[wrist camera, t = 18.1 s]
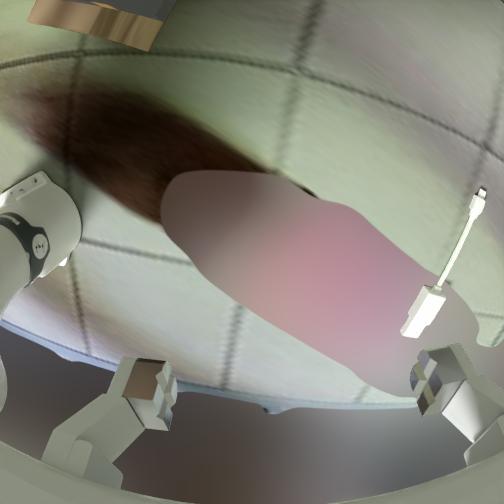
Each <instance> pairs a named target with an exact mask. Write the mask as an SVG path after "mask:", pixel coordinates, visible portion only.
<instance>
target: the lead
mask: <svg viewBox="0 0 504 504" xmlns="http://www.w3.org/2000/svg"><path fill="white" fill-rule="evenodd" d="M63 1H71V2H78V3H84V4H90V5H96V6H101V7H105V8H110V9H115V10H120V11H124V12H129V13H133V14H137V15H140V16H144V17H148V18H151V19H155V20H158V21H162V22H164V21H165V19H166V18H167V16H168V14H169V13H170V11H171V9H172V8H173V6H174V4H175V3H176V1H177V0H63Z"/></svg>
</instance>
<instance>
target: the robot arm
mask: <svg viewBox="0 0 504 504" xmlns="http://www.w3.org/2000/svg"><path fill="white" fill-rule="evenodd" d="M36 179H37V181H36ZM80 237H81V220H80V216H79V212H78V210H77V207H76V205H75V203H74V202H73V200H72V199H71V197H70V196H69V195H68V194H67V193H66V192H65V191H64V190H63V189H62V188H60V187H59V186H57V185H56V184H54V183H53V182H51V180H50V179H49V177H48V176H47V175H46V174H45V173H44V172H43V171H39V172H37V173H36V174H34V175H32V176H30V177H29V178H27V179H25V180H23V181H22V182H20V183H18V184H17V185H15V186H13V187H12V188H10V189H8V190H7V191H5V192H4V193H2V194H1V195H0V321H1V318H2V316H3V314H4V312H5V310H6V309H7V307H8V306H9V304H10V303H11V302H12V300H13V299H14V298H15V296H16V295H17V294H18V293H19V292H20V291H21V289H22V288H25V287H27V286H28V285H30V284H31V283H33V282H34V281H35V280H36V278H37V277H44V276H46V275H47V274H48V273H49V272H50V271H52V270H53V269H54V268H55V267H56V266H57V265H60V266H65V265H66V264H67V263H68V261H69V258H70V254H71V252H72V251H73V250H74V249H75V247H76V246H77V245H78V243H79V240H80ZM417 358H418V360H419V362H418V363H417V364H415V365H414V366H413V368H412V371H411V373H410V384H411V388H412V391H413V392H414V393H415V394H417V395H418V399H417V404H418V407H419V409H420V413H421V415H422V417H423V416H428V415H432V414H436V413H441V412H442V414H443V415H444V416H445V417H446V418H447V419H448V420H449V421H450V422H451V423H453V424H454V425H455V426H456V427H457V428H458V429H459V430H460V431H461V432H462V433H463V434H464V435H465V436H466V437H467V438H468V439H469V440H471V442H472V443H473V444H472V445H471V446H470V447H469V448H468V449H467V450H466V451H465V453H464V458H465V461H466V464H467V468H465V469H462V470H460V471H457V472H455V473H452V474H449V475H446V476H444V477H441V478H438V479H435V480H432V481H429V482H426V483H423V484H420V485H417V486H413V487H409V488H406V489H402V490H398V491H395V492H390V493H386V494H382V495H377V496H373V497H368V498H363V499H358V500H351V501H345V502H338V503H331V504H504V390H503V389H502V388H500V387H499V386H497V385H496V384H494V383H493V382H491V381H490V380H488V379H487V378H485V377H484V376H482V375H480V376H478V374H477V372H476V370H475V369H474V367H473V365H472V363H471V361H470V360H469V358H468V356H467V354H466V353H465V351H464V349H463V348H462V346H461V345H460V344H459V343H456V344H451V345H447V346H445V345H444V346H440V347H435V348H429V349H423V350H422V351H421V352H420V353H419V355H418V357H417ZM170 372H171V366H170V363H169V361H161V360H151V359H143V358H134V357H124V358H123V359H122V360H121V362H120V364H119V366H118V368H117V371H116V373H115V375H114V378H113V380H112V382H111V385H110V387H109V390H108V392H107V394H102V395H100V396H99V397H98V398H96V399H95V400H94V401H93V402H91V403H90V404H88V405H87V406H86V407H84V408H83V409H81V410H80V411H79V412H77V413H76V414H75V415H73V416H72V417H70V418H69V419H68V420H66V421H65V422H64V423H62V424H61V425H59V426H58V427H57V428H55V429H54V430H53V432H52V435H51V437H50V439H49V442H48V444H47V447H46V449H45V451H44V454H43V456H42V459H41V461H39V460H36V459H34V458H32V457H30V456H28V455H26V454H24V453H22V452H20V451H18V450H16V449H14V448H12V447H10V446H8V445H6V444H5V443H3V442H1V441H0V504H191V503H184V502H177V501H171V500H165V499H160V498H155V497H150V496H145V495H140V494H136V493H132V492H127V491H124V490H120V487H121V483H122V479H123V475H122V473H121V472H120V471H119V470H118V469H117V468H116V467H115V466H114V465H113V464H112V462H113V461H114V460H115V459H116V458H117V457H118V456H119V455H120V454H121V453H122V452H123V451H124V450H125V449H126V448H127V447H128V446H129V445H130V444H131V443H132V442H133V441H134V440H135V439H136V438H137V437H138V436H139V435H140V434H141V433H142V432H143V431H144V430H145V428H149V429H158V430H167V431H169V427H170V423H171V419H172V415H173V414H172V412H171V410H170V407H171V406H173V405H174V404H175V402H176V397H177V383H176V380H175V377H174V376H173V375H171V374H170ZM6 394H7V380H6V373H5V369H4V366H3V363H2V361H1V357H0V411H1V409H2V407H3V406H4V403H5V399H6Z"/></svg>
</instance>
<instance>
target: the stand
mask: <svg viewBox="0 0 504 504" xmlns="http://www.w3.org/2000/svg"><path fill="white" fill-rule="evenodd" d="M176 2H177V1H176ZM175 4H176V3H175ZM175 4H174V5H175ZM173 7H174V6H173ZM171 10H172V9H171ZM170 12H171V11H170ZM168 15H169V14H168ZM167 17H168V16H167ZM166 19H167V18H166ZM166 19H165V20H166ZM164 22H165V21H164ZM164 22H162V21H158V20H155V19H151V18H148V17H144V16H140V15H137V14H133V13H129V12H124V11H120V10H115V9H110V8H105V7H101V6H96V5H90V4H84V3H78V2H71V1H63V0H36V2H35V4H34V6H33V8H32V11H31V13H30V15H29V17H28V19H27V22H26V23H33V24H39V25H45V26H51V27H56V28H61V29H66V30H71V31H75V32H79V33H84V34H88V35H92V36H95V37H99V38H103V39H107V40H111V41H114V42H118V43H121V44H124V45H128V46H131V47H134V48H137V49H141V50H144V51H147V52H149V50H150V48H151V46H152V44H153V42H154V40H155V38H156V37H157V35H158V33H159V31H160V29H161V27H162V26H163V24H164Z"/></svg>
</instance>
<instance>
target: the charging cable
mask: <svg viewBox="0 0 504 504" xmlns="http://www.w3.org/2000/svg"><path fill="white" fill-rule="evenodd" d="M485 195H486V192H485V191H484V190H482V189H480V191H479V193H478V196H476V195H474V196H473V199H472V201H471V204H470V206H469V208H470V209H471V210H470V213H469V216H470V217H469V220H468V222H467V224H466V227H465V229H464V231H463V233H462V236H461V238H460V240H459V242H458V244H457V246H456V248H455V250H454V252H453V254H452V256H451V258H450V260H449V262H448V264H447V266H446V268H445V270H444V272H443V274H442V276H441V277H440V279H439V281H438V283H437V285H435V284H434V286H433V287H430V286H427V285H424V286H423V288H422V289H421V291H420V293H419V295H418V296H417V298H416V300H415V302H414V303H413V305H412V307H411V308H410V310H409V312H408V315H409V317H408V319H407V320H406V322H405V324H404V325H403V327H402V328H401V330H400V331H401V334H402V335H403V336H407V337H413V338H418V337H419V335H420V334H421V332H422V331H423V329H424V328H425V326H426V325H430V324H431V322H432V320H433V319H434V318H435V316H436V314H437V313H438V311H439V309H440V308H441V306H442V304H443V303H444V301H445V300H446V296H445V295H444V294H443V292H442V291H441V290H442V287H441V285H442V284H443V282H444V280H445V278H446V276H447V274H448V273H449V271H450V269H451V267H452V265H453V263H454V261H455V259H456V257H457V255H458V253H459V251H460V249H461V247H462V245H463V243H464V241H465V239H466V236H467V234H468V232H469V230H470V228H471V225H472V223H473V221H474V218H475V219H477V216H478V214H480V215H481V212H482V210H483V207H484V205H485V202H486V201H485V200H484V198H485Z"/></svg>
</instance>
